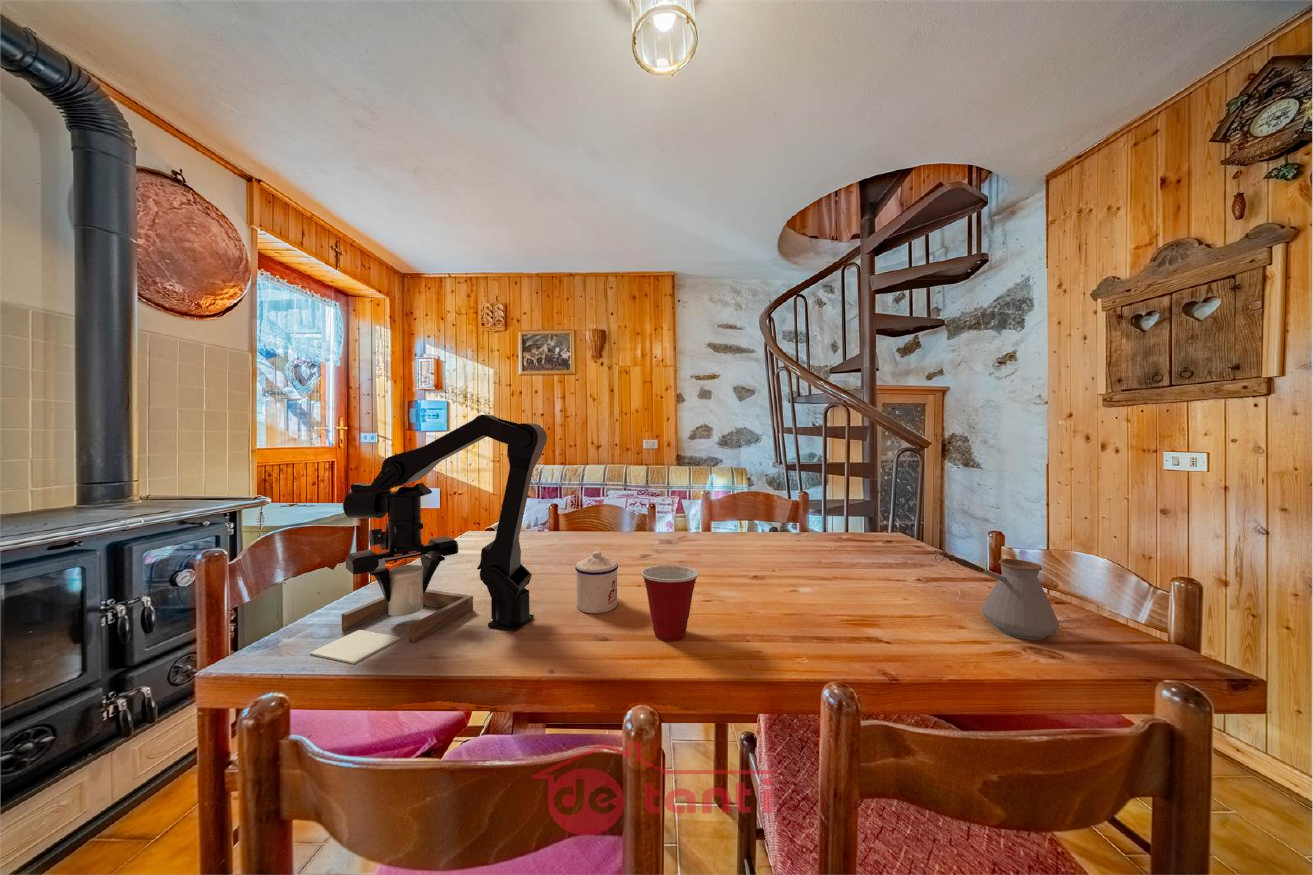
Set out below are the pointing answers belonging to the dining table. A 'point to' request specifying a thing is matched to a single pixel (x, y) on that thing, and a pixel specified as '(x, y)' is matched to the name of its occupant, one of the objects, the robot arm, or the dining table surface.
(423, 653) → the dining table surface
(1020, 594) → the coffee pot
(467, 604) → the cradle
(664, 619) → the plastic cup
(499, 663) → the dining table surface
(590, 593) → the teacup with lid
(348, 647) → the pad
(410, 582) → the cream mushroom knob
